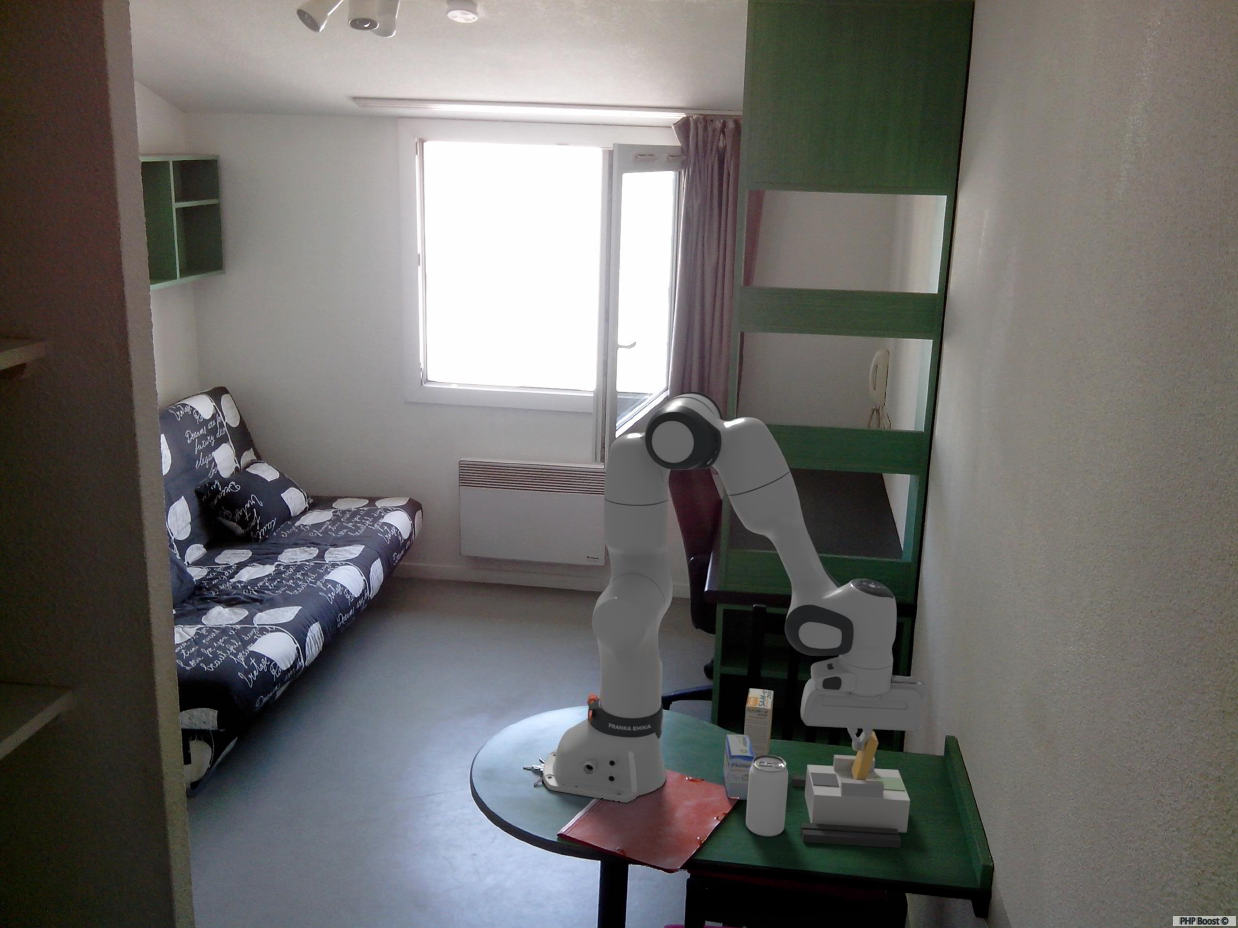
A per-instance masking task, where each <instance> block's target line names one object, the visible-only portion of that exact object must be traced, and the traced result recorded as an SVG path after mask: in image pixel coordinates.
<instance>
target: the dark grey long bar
mask: <svg viewBox="0 0 1238 928" xmlns="http://www.w3.org/2000/svg"><path fill="white" fill-rule="evenodd" d="M790 784H791V786H792V787H801V788H803V787H804V788H805V785H806V775H798V774H797V775H796V774H792V775H791V778H790Z"/></svg>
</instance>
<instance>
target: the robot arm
mask: <svg viewBox="0 0 1238 928" xmlns="http://www.w3.org/2000/svg"><path fill="white" fill-rule="evenodd" d="M606 461H607V462H606V467H605V474H604V485H603V489H604V492H603V542H604V544H605V546H606V548H607V552H608V556H609V557H608V558H609V562H610V569H611V570H610V572H611V573H610V580H609V583H608V585H607V587H606V588H605V589H604V590H603V592H601V594H600V595H599V597H598V598H597V600H596V603H595V605H594V609H593V613H592V617H591V626H592V627H591V628H592V632H593V634H594V636H595V638H596V642H597V647H598V652H599V653H598V654H599V660H600V679H599V681H600V685H599V696H598V694H596V693H590V694H589V695H588V697H587V701H586V704H587V706H588V707H587V708H588V709H587V718H586V719H584V720H582V721H580V722H579V723H577V724H575V725H574V726H572V727H570V728H568V729H567V730H565V732H564V733H563V735H562V736H561V738H560V740H559V742H558V745H557V748H556V749H555V750H552V751H551V752H550V754H549V755H548V756H547V757H546V759H545V762H544V765H543V770H542V779H543V782H544V785H545V787H546V788H548V790H551V791H554V792H561V793H565V794H566V793H567V794H572V795H578V796H583V797H590V798H596V799H601V798H603V799H602V800H607V801H613V800H614V801H613V802H618V801H620V802H619V803H630V802H632V801H634V800H635V799H637V798H638V797H640V796H642V795H646V794H649V793H651V792H654V791H656V790H658V789H660V787H662V786H663V785H664V783H665V782H666V779H667V772H666V769H665V766H664V760H663V752H662V743H661V742H662V741H661V740H662V739H661V736H662V733H663V731H664V730H663V729H664V728H663V727H664V705H663V703H662V689H663V688H662V687H663V686H662V685H663V662H662V660H661V656H660V650H659V630H660V626H661V622H662V619H663V617H664V616H665V614H666V612H667V610H668V609H669V607H670V605H671V603H672V599H673V593H674V582H673V577H672V568H671V561H670V555H669V546H668V544H669V543H668V522H669V518H668V517H669V515H668V514H669V506H668V505H669V481H670V480H669V479H670V473H671V470H673V471H687V470H701V469H702V470H703V469H704V470H706V469H710V468H711V467H713V468H714V469H715V471H717V473H718V475H719V477H720V480H721V481H722V484H723V486H724V489H725V491H726V494H727V496H728V499H729V502H730V504H731V506H732V508H733V511H734V512H735V513H736V515H737V518H738V519H739V520H740V522H741V523H742V525H743V526H744V528H745V529H747V530H748V531H750V532H752V533H755V534H757V535H762V536H764V537H766V538H768V539H769V540H770V542H772V544H773V545H774V547H775V549H776V551H777V554H778V556H779V557H780V558H779V559H780V560H781V562H782V565H783V566H784V569H785V572H786V574H787V576H788V578H789V581H790V585H791V599H790V606H789V609H788V612H787V615H786V618H785V621H784V633H785V636H786V639H787V641H788V643H789V644H790V645H791V646H792V648H794V649H795V650H796V651H797V652H799V653H801V654H803V655H805V656H811V657H812V656H813V657H814V656H815V657H829V656H830V657H833V656H837V657H833V658H829V659H826V660H825V659H824V660H821V661H817V662H814V663H812V665H811V666H810V677H811V678H810V679H808V681H806V683H805V686H804V688H803V693H802V697H801V705H800V718H801V720H802V722H803V723H804V725H805V726H808V727H824V728H825V727H826V728H828V727H829V728H847V732H848V734H849V736H850V738H851V740H852V742H851V748H852V750H853V751H855V752H858V751H864V746H865V742H866V741H867V740H868V738H870V736H871V735H872V731H873V732H874V730H886V731H887V730H888V731H891V730H893V731H906V732H907V731H908V732H917V731H919V730H920V729H921V728H922V727H923V724H924V723H923V722H924V713H923V711H924V710H923V702H922V701H924V699H925V698H926V694H927V693H926V691H927V685H926V683H925V682H924V681H923V680H922V679H920V678H919V677H917V676H913V675H912V676H903V675H893V667H894V666H893V665H894V664H893V663H894V657H893V655H894V654H893V649H892V648H893V645H894V642H895V639H896V634H897V633H896V631H897V619H898V618H897V615H898V614H897V613H898V612H897V611H898V610H897V601H896V597H895V596H894V593H893V592H892V591H891V590H890V589H889V587H888V586H885V585H884V584H883V583H881V582H879V581H875V580H872V579H868V578H855V579H854V578H853V579H852V580H850V581H849V582H848V583H846V584H844V585H841V583H840V582H839V581H838V580H837V579H836V578H834V576H832V575H831V574H830V573H829V571H828V570H827V569H826V568H825V566H824V564H823V561H822V560H821V558H820V555H819V554H818V551H817V549H816V546H815V544H814V542H813V539H812V538H811V535H810V533H809V530H808V528H807V526H806V524H805V521H804V517H803V512H802V507H801V502H800V497H799V494H798V491H797V486H796V484H795V480H794V478H793V475H792V473H791V470H790V468H789V466H788V463H787V460H786V458H785V456H784V455H783V453H782V450H781V448H780V446H779V444H778V442H777V441H776V440H775V438H774V436H773V434H772V433H771V431H770V430H769V428H768V427H767V425H766V424H765V422H764V421H762V420H760V419H758V418H756V417H750V416H749V417H748V416H746V417H738V418H734V419H732V420H724V419H723V414H722V411H721V409H720V406H719V404H718V403H716V401H715V400H714V399H713V398H712V397H711V396H709V395H707V394H704V393H702V392H699V391H685V392H682V393H679V394H677V395H675V396H674V397H672V398H670V399H669V400H667V401H666V402H665V403H663V404H662V405H661V406H660V407H659V409H658V410H657V411H656V412H655V413H654V414H653V415H652V416H651V418H650V419H649V421H648V422H647V425H646V428H645V431H644V432H630V433H626V434H624V435H621V436H619V437H618V438H616V439H615V440H614V441H613V442H612V443H611V446H610V448H609V451H608V456H607V460H606ZM858 729H862V732H861V734H860V736H858V737H857V735H856V734H857V733H858ZM657 788H658V789H657ZM639 795H640V796H639ZM637 796H638V797H637ZM636 797H637V798H636ZM633 799H634V800H633ZM631 800H632V801H631ZM629 801H630V802H629Z"/></svg>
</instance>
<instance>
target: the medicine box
mask: <svg viewBox="0 0 1238 928" xmlns="http://www.w3.org/2000/svg"><path fill="white" fill-rule="evenodd" d="M724 745H725V746H724V756H723V757H724V758H723V769H722V778H723V782H724V788H725V791H726V792H725V793H726V797H739V798H740V799H739V800H744V801H745V800H746V801H747V798H748V784H749V772H750V767H751V765H752V764H753V759H754V758H755V757H754V753H753V749H752V745H751V741H750V737H749V736H748V735H744V734H726V736H725V744H724Z"/></svg>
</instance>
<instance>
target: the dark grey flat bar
mask: <svg viewBox="0 0 1238 928" xmlns="http://www.w3.org/2000/svg"><path fill="white" fill-rule="evenodd" d="M899 833H900V832H898V830H897V829H893V828H877V827H861V826H845V825H829V824H813V823H811V822H801V823H800V835H801V839H802V843H813V844H814V843H815V844H833V845H846V846H847V845H848V846H863V847H876V848H877V847H879V848H896V849H897V848H898V849H900V848H901V845H902V839H901V836H900V835H899Z"/></svg>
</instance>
